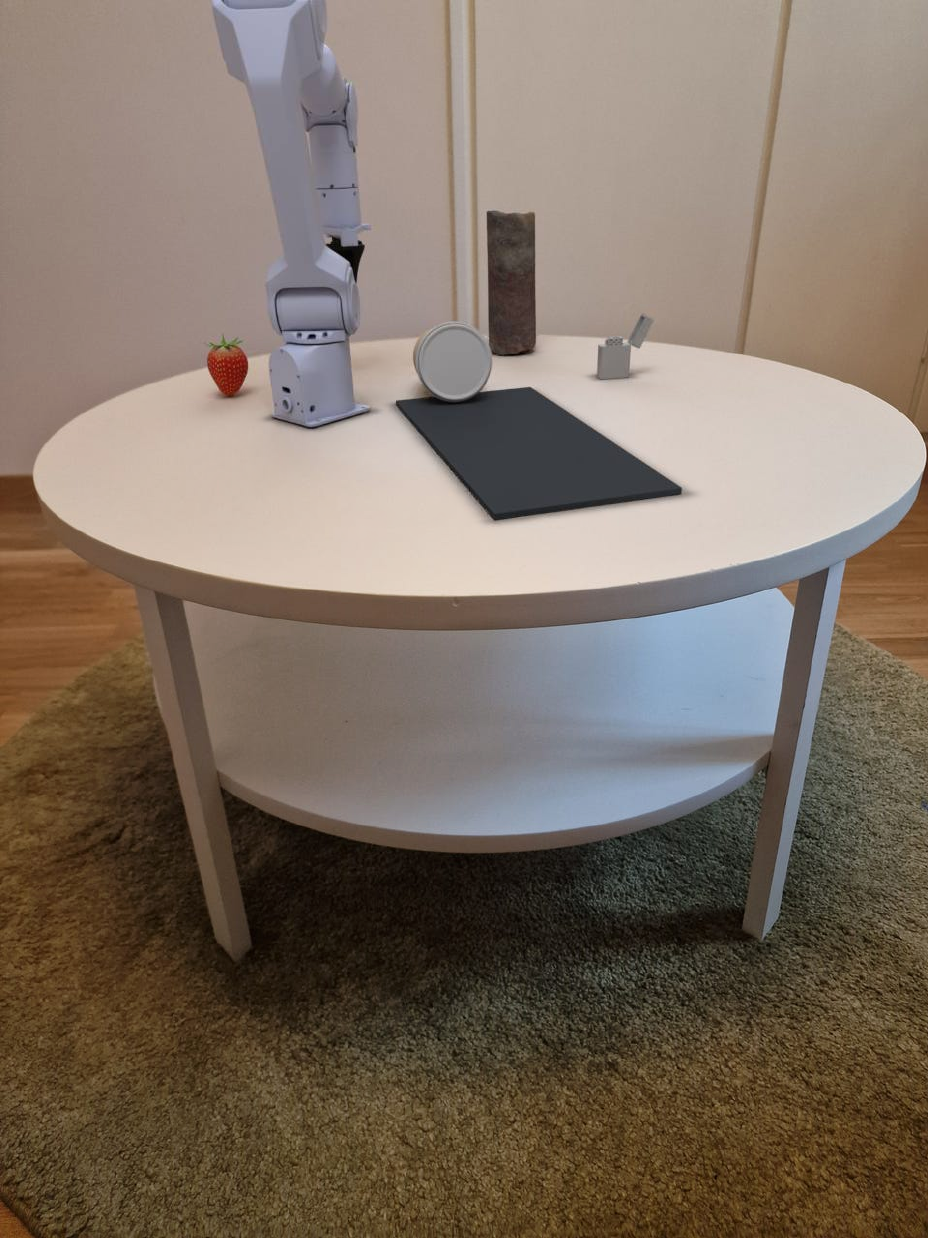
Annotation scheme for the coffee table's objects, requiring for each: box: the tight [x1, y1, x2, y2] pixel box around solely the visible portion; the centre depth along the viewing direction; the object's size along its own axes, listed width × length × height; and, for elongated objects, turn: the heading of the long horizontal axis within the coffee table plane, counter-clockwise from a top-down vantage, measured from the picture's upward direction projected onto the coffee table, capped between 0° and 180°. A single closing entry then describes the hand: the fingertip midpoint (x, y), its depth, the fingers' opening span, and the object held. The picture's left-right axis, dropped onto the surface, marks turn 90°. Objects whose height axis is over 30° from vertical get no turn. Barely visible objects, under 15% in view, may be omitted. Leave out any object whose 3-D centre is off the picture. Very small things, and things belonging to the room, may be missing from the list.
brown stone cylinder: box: [486, 210, 537, 356], centre depth 128 cm, size 8×7×20 cm
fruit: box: [204, 333, 249, 397], centre depth 112 cm, size 5×5×8 cm
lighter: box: [596, 313, 655, 380], centre depth 115 cm, size 7×2×8 cm, turn 100°
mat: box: [395, 386, 683, 521], centre depth 92 cm, size 40×18×1 cm, turn 16°
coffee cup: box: [412, 321, 493, 402], centre depth 108 cm, size 9×9×12 cm
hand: (346, 299), depth 116 cm, fingers closed
